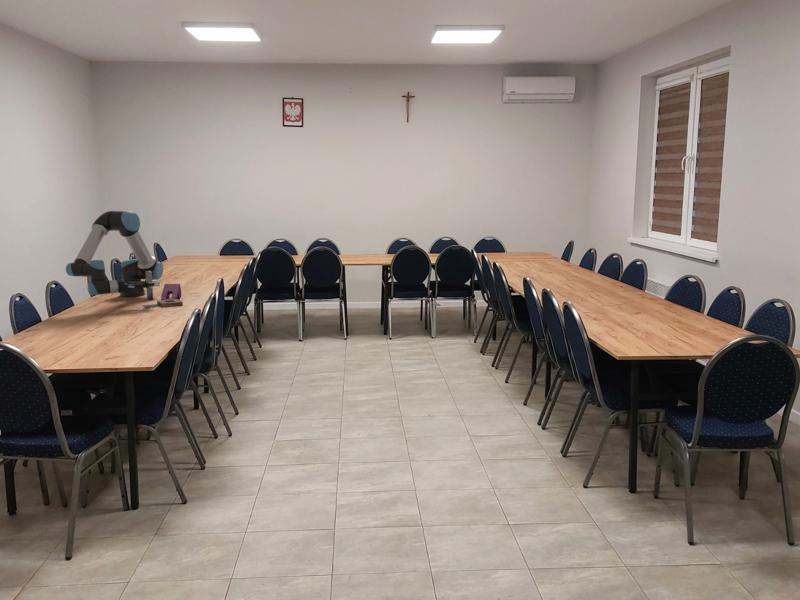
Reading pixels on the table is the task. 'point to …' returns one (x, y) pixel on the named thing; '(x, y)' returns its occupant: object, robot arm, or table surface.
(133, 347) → the table surface
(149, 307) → the mat
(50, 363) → the table surface
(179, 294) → the mounting bracket
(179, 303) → the collar
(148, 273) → the peg
